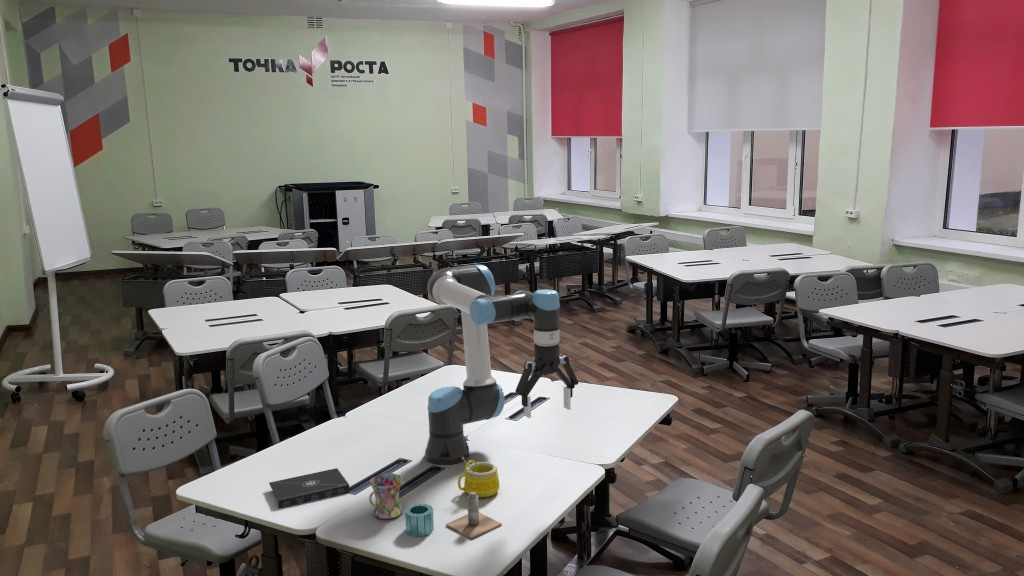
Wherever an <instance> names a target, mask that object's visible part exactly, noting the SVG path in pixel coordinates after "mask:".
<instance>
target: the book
mask: <svg viewBox="0 0 1024 576" xmlns="http://www.w3.org/2000/svg"><path fill="white" fill-rule="evenodd" d="M268 484H269V487H270V488H271V490H272V493H273V494H274V496H275V498H276V501H277V509H283V508H287V507H292V506H296V505H300V504H306V503H310V502H314V501H319V500H322V499H326V498H332V497H336V496H339V495H343V494H344V495H345V494H349V493H351V490H350V489H351V488H350V483H349V482H348V481H347V480H346V478H345V477H344V476H343V474H342V473H341V471H340V470H339V469H338V468H337V467H336V468H331V469H327V470H322V471H316V472H311V473H307V474H303V475H298V476H294V477H289V478H283V479H279V480H275V481H270V482H269V483H268Z"/></svg>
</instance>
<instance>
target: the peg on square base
mask: <svg viewBox="0 0 1024 576" xmlns="http://www.w3.org/2000/svg"><path fill="white" fill-rule="evenodd" d="M445 526H446V527H447V528H449V529H451V530H453V531H455V532H457V533H459V534H460V535H462V536H464V537H466V538H468V539H470V540H471V541H472V540H474V539H476V538H478V537H480V536H482V535H484V534H486V533H489V532H491V531H493V530H494V529H497V528H499V527H501V526H503V525H502V523H501V522H499V521H498V520H496V519H494V518H491V517H490V516H488V515H485V514H483V513H481V512H480V511H479V497H478V496H477V495H476V492H470V493H469V494H468V495H467V514H466V515H463V516H461V517H459V518H456V519H453V520H452V521H450V522H448V523H447V522H446V524H445Z"/></svg>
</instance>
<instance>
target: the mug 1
mask: <svg viewBox="0 0 1024 576" xmlns="http://www.w3.org/2000/svg"><path fill="white" fill-rule="evenodd" d="M402 482H403V477H402V476H401V475H400V474H398V473H393V472H391V473H387V472H385V473H381V474H377V475H375V476H373V477H372V478H371V479H370V480H369V484H370V486H371V488H372V492H370V494H369V497H368V499H369V503H370V504H371V506H373V507H374V509H373V512H372V513H373V515H374V517H376V518H379V519H384V520H389V519H394V518H396V517H398V516H400V515H401V514H402V513H403V511H404V510H403V506H402V505H401V502H400V490H401V489H400V488H401V486H402ZM373 496H374V498H375V504H374V502H373V501H372V497H373Z"/></svg>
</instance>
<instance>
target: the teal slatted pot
mask: <svg viewBox="0 0 1024 576" xmlns="http://www.w3.org/2000/svg"><path fill="white" fill-rule="evenodd" d="M404 513H405V530H406V531H405V532H406V534H407V535H409V536H410V537H415V538H420V537H425V536H428V535H430V534H432V533H433V531H434V530H435V529H434V527H435V526H434V525H435V524H434V509H433V506H432V505H430V504H427V503H415V504H411V505H408V506H407V507H406V508H405V510H404Z"/></svg>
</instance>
